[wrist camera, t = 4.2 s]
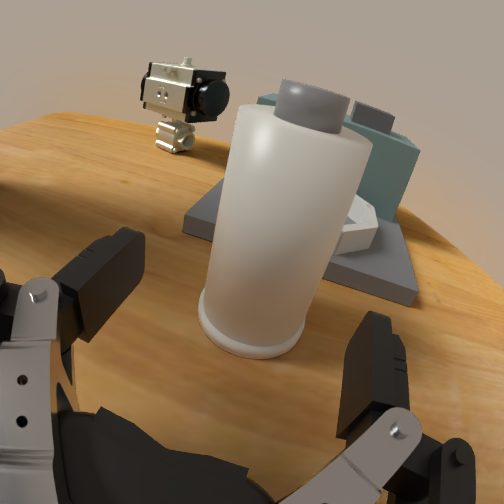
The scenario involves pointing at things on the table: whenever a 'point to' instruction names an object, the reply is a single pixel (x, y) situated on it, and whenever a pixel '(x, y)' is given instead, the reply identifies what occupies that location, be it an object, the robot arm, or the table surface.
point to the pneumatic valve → (183, 100)
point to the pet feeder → (357, 213)
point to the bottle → (279, 218)
